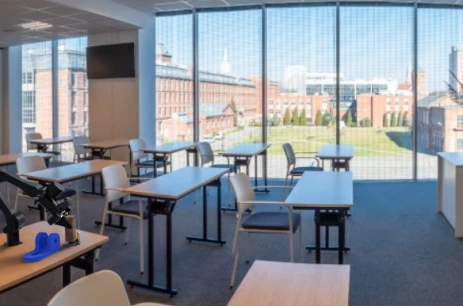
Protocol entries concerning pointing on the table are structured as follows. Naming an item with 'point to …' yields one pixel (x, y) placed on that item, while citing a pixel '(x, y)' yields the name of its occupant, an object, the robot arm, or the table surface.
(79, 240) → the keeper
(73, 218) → the link block
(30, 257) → the bracket
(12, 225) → the robot arm
